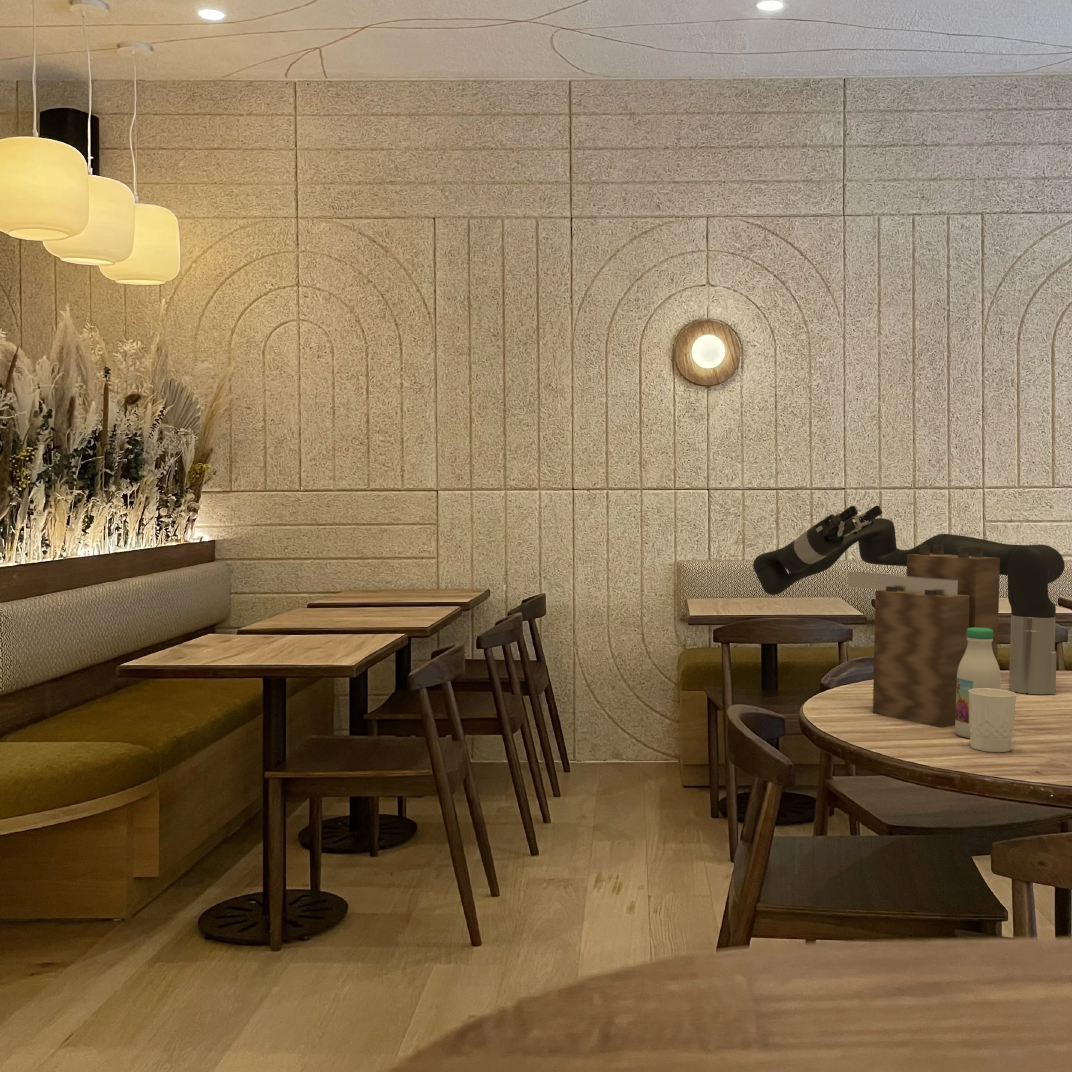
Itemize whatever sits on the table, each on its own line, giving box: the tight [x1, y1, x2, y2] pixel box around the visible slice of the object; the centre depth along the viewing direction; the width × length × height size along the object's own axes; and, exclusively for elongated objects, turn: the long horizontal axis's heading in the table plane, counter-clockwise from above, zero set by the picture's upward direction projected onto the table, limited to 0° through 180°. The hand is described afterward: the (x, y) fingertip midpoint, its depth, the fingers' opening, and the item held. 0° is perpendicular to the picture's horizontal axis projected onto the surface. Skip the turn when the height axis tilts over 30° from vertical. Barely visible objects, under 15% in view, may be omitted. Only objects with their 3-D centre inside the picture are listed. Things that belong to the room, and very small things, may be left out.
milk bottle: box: [954, 628, 1002, 739], centre depth 211 cm, size 8×8×20 cm
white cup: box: [968, 688, 1017, 753], centre depth 202 cm, size 8×8×10 cm
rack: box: [872, 544, 1001, 728], centre depth 230 cm, size 16×18×34 cm
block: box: [847, 571, 958, 596], centre depth 231 cm, size 24×3×3 cm, turn 36°
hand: (867, 509), depth 257 cm, fingers open, 8 cm apart
